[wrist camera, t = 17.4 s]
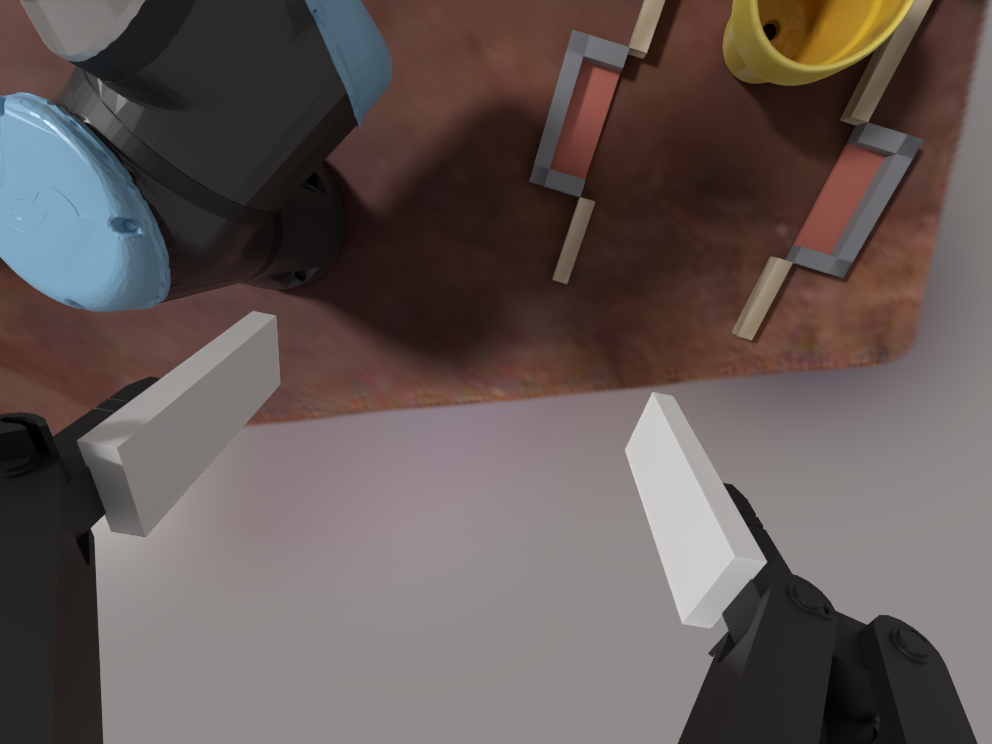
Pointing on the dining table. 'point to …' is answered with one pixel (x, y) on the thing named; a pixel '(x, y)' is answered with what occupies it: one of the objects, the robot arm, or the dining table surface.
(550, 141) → the trap bays
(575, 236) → the box
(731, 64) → the plant pot
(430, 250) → the dining table surface
